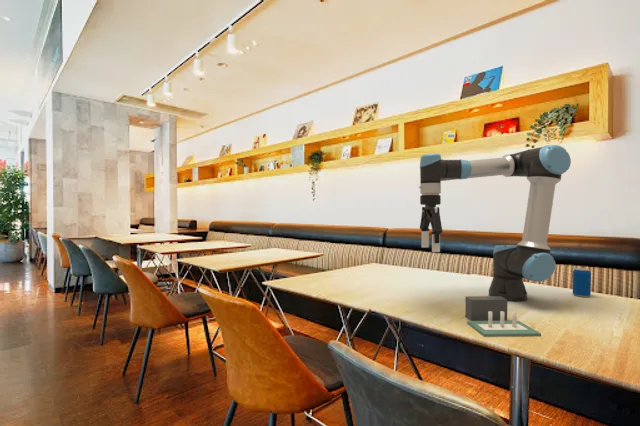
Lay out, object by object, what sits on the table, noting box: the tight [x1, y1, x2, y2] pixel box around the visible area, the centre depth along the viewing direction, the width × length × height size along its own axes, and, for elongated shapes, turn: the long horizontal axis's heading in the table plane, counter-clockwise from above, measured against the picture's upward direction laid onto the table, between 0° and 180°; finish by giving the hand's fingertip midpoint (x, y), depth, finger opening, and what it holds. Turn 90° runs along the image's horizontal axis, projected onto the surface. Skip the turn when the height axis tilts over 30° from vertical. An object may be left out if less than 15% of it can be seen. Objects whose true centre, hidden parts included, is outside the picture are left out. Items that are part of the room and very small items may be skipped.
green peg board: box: [466, 310, 542, 337], centre depth 116 cm, size 18×12×6 cm, turn 91°
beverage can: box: [572, 267, 592, 298], centre depth 158 cm, size 6×6×12 cm
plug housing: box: [464, 295, 508, 321], centre depth 127 cm, size 13×5×7 cm, turn 91°
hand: (430, 249), depth 136 cm, fingers open, 13 cm apart
